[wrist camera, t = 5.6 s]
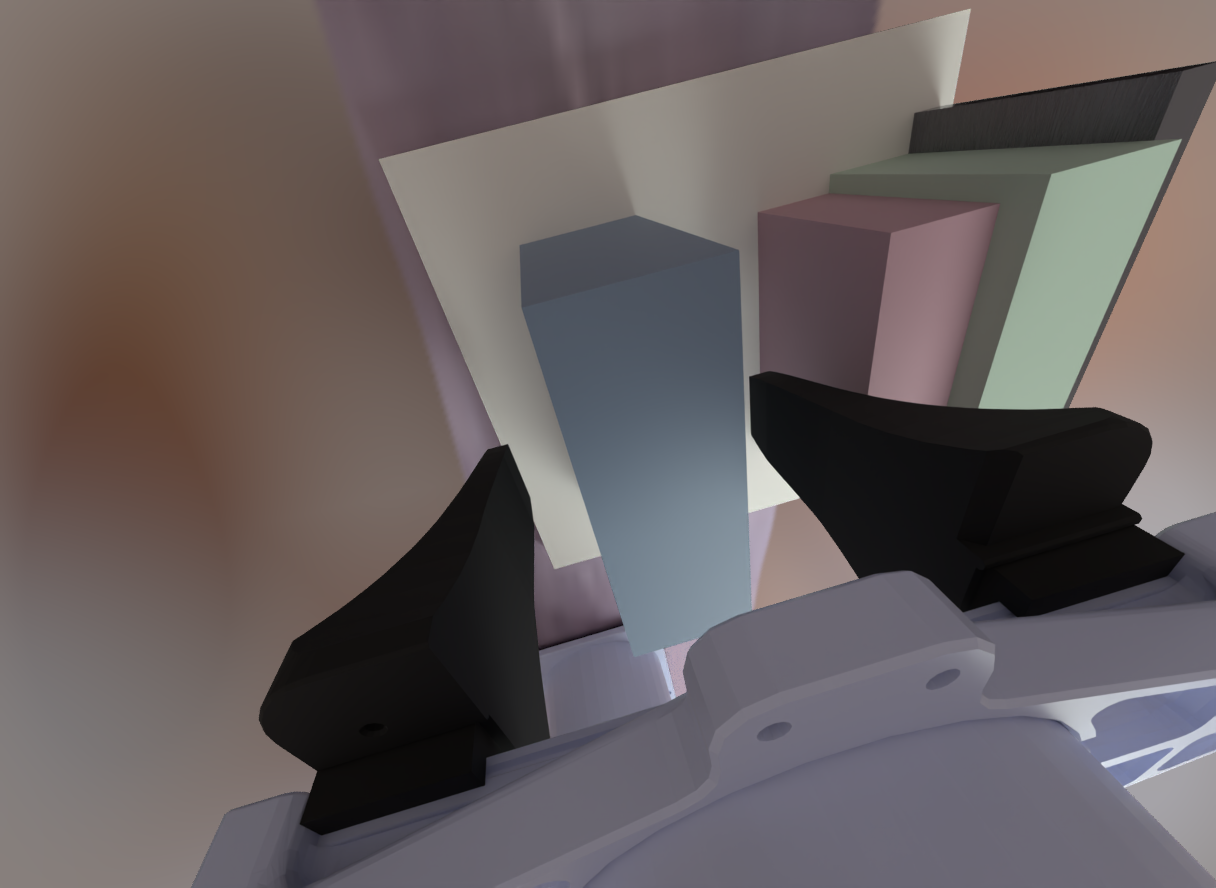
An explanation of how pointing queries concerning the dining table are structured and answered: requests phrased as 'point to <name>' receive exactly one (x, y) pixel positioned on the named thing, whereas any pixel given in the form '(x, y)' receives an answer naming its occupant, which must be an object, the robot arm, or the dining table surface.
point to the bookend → (1077, 127)
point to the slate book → (650, 414)
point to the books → (955, 271)
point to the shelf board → (651, 211)
